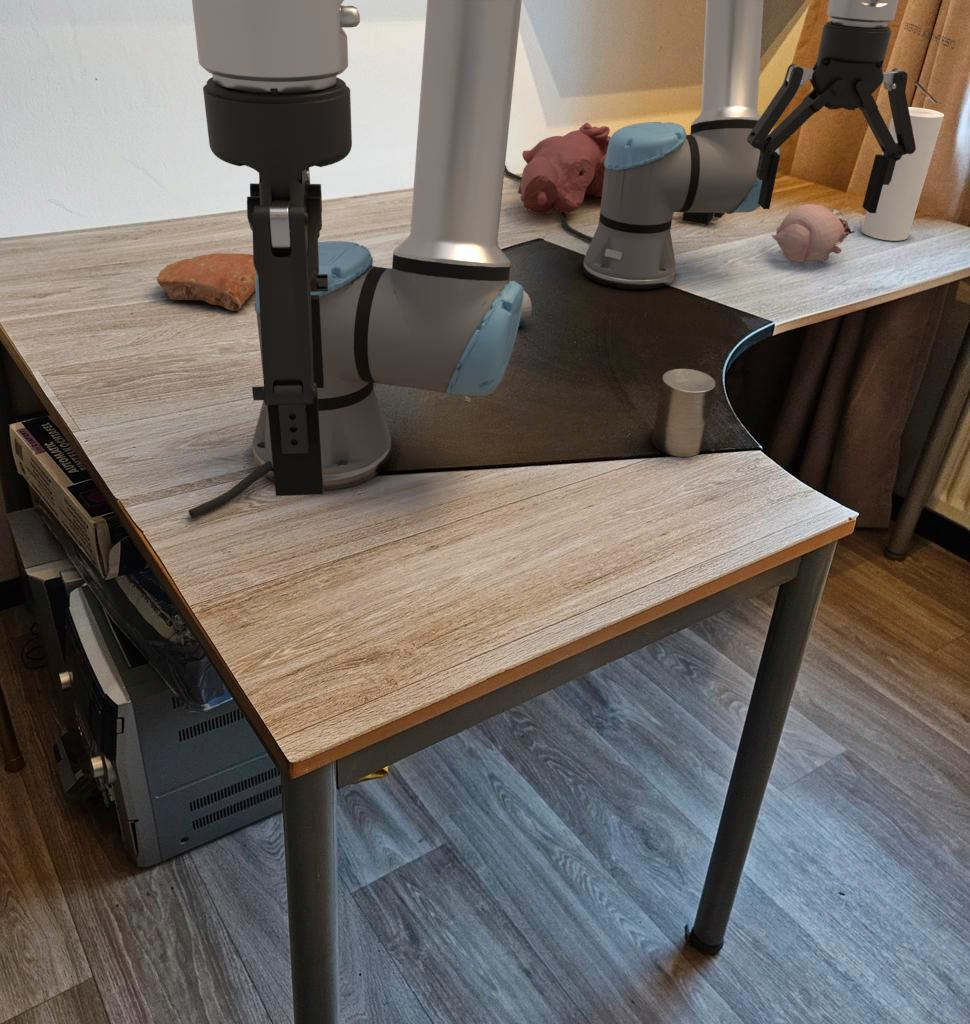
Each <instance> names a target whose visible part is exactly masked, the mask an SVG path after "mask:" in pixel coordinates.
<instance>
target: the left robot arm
mask: <svg viewBox="0 0 970 1024" xmlns="http://www.w3.org/2000/svg"><path fill="white" fill-rule="evenodd" d="M426 1H427V2H426V12H425V24H424V40H423V53H422V66H421V67H422V68H421V78H420V79H421V80H420V95H419V107H418V119H417V120H418V122H417V135H416V149H415V150H416V151H415V162H414V163H415V164H414V175H413V176H414V177H413V189H412V204H411V215H410V216H411V217H410V230H409V231H410V233H409V234H408V236H407V238H405V240H403V241H402V242H400V244H399V245H398V246H396V248H395V249H393V253H392V264H391V267H382V266H381V267H380V266H374V265H373V264H374V263H373V262H374V258H373V256H372V254H371V252H370V250H369V249H368V248H367V247H366V246H365V245H360V244H359V243H357V242H353V241H352V242H351V241H346V240H345V241H343V240H328V241H319V238H320V236H321V230H322V228H323V216H322V213H323V197H322V195H323V194H322V184H321V183H311V174H310V173H311V172H310V168H312V167H317V168H324V167H328V166H331V165H334V164H337V163H338V162H341V161H343V160H344V159H345V158H347V157H348V156H349V154H350V153H351V150H352V145H353V136H352V135H353V133H352V131H353V130H352V105H351V104H352V102H351V101H352V100H351V88H350V87H349V86H348V85H347V82H346V81H344V80H343V79H341V78H340V77H338V76H340V75H341V74H343V73H344V72H345V71H346V69H348V68H349V48H348V44H349V43H348V35H347V34H346V31H345V30H344V29H343V28H357V27H358V25H359V24H360V23H361V15H360V13H359V10H358V7H357V6H354V5H342V4H343V2H345V0H191V3H192V13H193V22H194V23H193V24H194V31H195V40H196V50H197V58H198V64H199V66H200V67H202V68H203V69H204V70H205V71H206V72H208V73H209V74H211V75H212V77H210V78H209V79H208V80H207V81H206V84H204V86H203V87H202V93H203V100H204V111H205V118H206V125H207V126H206V127H207V136H208V145H209V149H210V150H211V153H212V154H213V155H214V156H215V157H216V158H218V159H219V160H220V161H223V162H225V163H228V165H229V164H230V165H233V166H236V167H242V166H243V167H244V166H245V167H247V168H250V169H253V170H254V171H256V172H257V173H258V179H259V181H258V183H249V196H246V212H247V213H246V217H247V221H248V225H249V229H250V230H251V231H252V255H253V263H254V267H255V270H256V277H255V289H256V290H255V303H254V306H253V307H254V311H255V312H256V321H257V331H258V340H259V342H258V343H259V349H260V359H261V369H262V379H263V386H251V391H252V398H253V401H262V404H261V408H260V412H259V415H258V419H257V423H256V427H255V430H254V434H253V438H252V442H251V443H252V455H253V460H254V464H255V467H256V469H255V470H254V471H252V472H251V473H249V474H248V475H246V476H245V477H244V478H242V480H240V481H239V482H237V484H235V485H234V486H233V487H231V488H230V489H229V490H227V491H225V492H224V493H222V494H221V495H219V496H217V497H215V498H212V499H211V500H209V501H206V502H203V503H202V504H199V505H197V506H194V507H193V508H191V509H188V514H189V516H190V518H191V519H193V520H194V519H196V518H199V517H200V516H203V515H204V514H207V513H208V512H211V511H213V510H216V509H217V508H219V507H221V506H224V505H226V504H227V503H229V502H230V501H233V500H234V499H235V498H237V497H238V496H239V495H241V494H242V493H243V492H245V491H246V490H247V489H248V488H250V487H251V486H252V485H253V484H254V483H256V482H257V481H258V480H260V479H261V478H262V477H264V476H265V477H266V478H268V479H269V480H271V481H273V482H274V492H275V493H274V494H275V497H289V496H290V497H292V496H318V495H324V490H327V491H328V490H337V489H342V488H348V487H351V486H355V485H358V484H361V483H363V482H366V481H368V480H370V479H373V478H374V477H375V476H377V475H378V474H380V473H381V472H382V471H383V470H384V469H385V468H386V467H387V466H388V464H389V463H390V461H391V458H392V434H391V431H390V430H389V427H388V424H387V422H386V419H385V417H384V413H383V411H382V408H381V406H380V403H379V400H378V398H377V395H376V393H375V385H374V384H377V385H378V384H379V385H385V386H386V385H387V386H394V387H402V388H409V389H410V388H411V389H417V390H424V391H430V392H438V393H444V394H446V396H449V397H452V396H454V395H458V396H459V395H460V396H471V397H484V396H485V397H486V396H488V395H490V394H491V393H493V392H494V391H495V390H496V389H497V387H498V386H499V385H500V384H501V382H502V380H503V377H504V376H505V373H506V371H507V368H508V365H509V362H510V359H511V357H512V352H513V350H514V347H515V343H516V339H517V335H518V331H519V327H520V326H519V322H520V317H521V312H522V301H523V296H524V292H523V290H524V287H523V286H522V285H521V284H519V283H518V282H517V281H516V280H510V274H511V265H512V264H511V263H512V262H511V261H510V259H509V258H508V257H507V255H506V254H505V252H504V251H503V250H502V249H501V247H500V246H499V241H498V238H499V230H500V221H501V220H500V218H501V211H502V210H501V208H502V200H503V189H504V180H505V172H504V170H505V164H506V161H507V160H506V159H507V151H508V150H507V149H508V139H509V131H510V129H509V128H510V121H511V111H512V110H511V109H512V102H513V101H512V100H513V90H514V89H513V88H514V81H515V72H516V60H517V50H518V42H519V41H518V40H519V31H520V21H521V12H522V2H523V1H522V0H426Z"/></svg>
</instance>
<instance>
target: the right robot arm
mask: <svg viewBox="0 0 970 1024" xmlns="http://www.w3.org/2000/svg"><path fill="white" fill-rule="evenodd" d="M764 1H765V0H705V19H704V20H705V21H704V44H703V65H702V85H701V86H702V87H701V108H700V114H699V115H698V116H697V117H696V118H695V119H694V120H693V121H692V122H691V123H690V134H687V132H686V129H685V127H684V126H683V125H682V124H678V123H675V122H662V121H647V122H646V121H645V122H639V123H634V124H629V125H625V126H623V127H620V128H619V129H617V130H615V131H614V132H613V133H612V135H611V136H610V137H611V138H610V140H609V144H608V149H607V154H606V159H605V162H604V165H605V172H604V181H603V191H602V196H601V201H600V202H601V203H600V208H599V209H600V211H599V219H598V225H597V226H596V227H597V228H596V230H595V232H594V234H593V237H592V236H590V235H587V234H585V233H583V232H581V231H579V230H577V229H575V228H573V227H572V226H571V225H569V224H568V217H567V213H564V212H560V214H561V217H562V226H563V227H564V228H565V230H567V231H568V232H569V233H570V234H572V235H575V236H576V237H578V238H581V239H583V240H585V241H587V242H590V243H589V245H588V248H587V250H586V252H585V255H584V258H583V264H582V272H583V274H584V275H585V276H586V277H587V278H589V279H590V280H592V281H594V282H596V283H599V284H602V285H604V286H608V287H612V288H616V289H623V290H636V291H637V290H640V291H641V290H642V291H643V290H645V291H646V290H654V289H660V288H663V287H666V286H668V285H670V284H671V283H673V282H674V280H675V277H676V271H677V266H676V265H677V264H676V258H675V253H674V246H673V240H672V233H671V232H672V231H671V229H672V221H673V216H674V213H684V212H703V213H724V214H726V215H731V214H735V213H737V214H739V213H750V212H754V211H756V210H758V209H759V208H760V207H761V209H762V210H770V207H771V202H772V198H773V194H774V193H773V192H774V188H775V183H776V179H777V175H778V169H779V163H780V159H781V155H780V147H781V146H782V145H783V144H784V143H785V142H786V141H788V139H789V138H791V136H792V135H793V134H794V133H796V131H797V130H799V129H800V128H801V127H802V126H803V125H804V124H805V123H806V122H807V121H808V120H809V119H810V118H811V117H812V116H814V114H816V113H818V112H819V111H820V110H821V109H823V108H824V107H825V108H826V109H828V110H839V109H844V110H846V111H855V110H856V109H859V110H860V112H861V113H862V115H863V117H864V119H865V121H866V123H867V125H868V126H869V128H870V130H871V132H872V134H873V136H874V138H875V140H876V142H877V144H878V145H879V147H880V149H881V152H882V151H883V153H884V154H883V155H882V154H875V155H874V159H873V163H872V167H871V170H870V174H869V180H868V183H867V187H866V189H865V190H866V191H865V194H864V199H863V203H862V206H861V207H862V208H863V209H864V210H865V211H868V212H869V213H876V210H877V206H878V202H879V198H880V194H881V191H882V187H883V185H889V183H890V181H891V179H892V175H893V171H894V167H895V164H896V161H898V160H900V159H901V157H902V155H905V154H912V153H914V152H915V150H916V146H915V140H914V135H913V130H912V125H911V119H910V114H909V109H908V107H909V104H908V98H907V93H906V90H907V83H908V78H909V77H908V76H909V75H908V73H907V72H906V71H905V70H902V69H899V68H893V69H892V70H890V71H889V70H888V71H883V64H884V61H885V59H886V55H887V51H888V48H889V44H890V39H891V35H892V29H891V27H890V26H888V23H890V22H893V21H894V20H895V18H896V15H897V9H898V5H899V1H900V0H828V3H827V8H826V13H825V15H826V16H827V17H828V18H830V20H829V21H827V22H825V24H823V27H822V33H821V37H820V43H819V47H818V51H817V58H816V62H815V64H814V65H813V67H812V68H808V67H801V66H799V65H797V64H796V63H791V64H789V65H788V67H787V69H786V73H785V75H784V79H783V82H782V84H781V86H780V87H779V89H778V90H777V92H776V94H775V95H774V97H772V99H771V101H770V102H769V104H768V105H767V107H766V109H765V110H764V111H763V113H762V114H761V113H760V112H759V111H758V105H759V104H758V103H759V88H760V87H759V85H760V71H761V69H760V68H761V52H762V51H761V50H762V36H763V21H764V19H763V18H764ZM808 80H809V81H810V84H811V86H812V88H813V89H812V90H810V92H808V94H807V95H806V96H805V97H804V98H803V99H802V102H801V103H800V104H799V105H798V106H796V108H795V109H793V110H792V111H791V112H790V113H789V114H788V116H786V117H785V118H784V119H783V120H782V121H781V122H780V123H779V124H778V125H777V126H776V124H777V122H778V121H779V120H780V118H781V117H782V115H783V114H784V112H785V111H786V110H787V108H788V106H789V105H790V103H791V102H792V100H793V99H794V97H795V96H796V94H797V93H798V90H799V88H802V87H803V86H804V85H806V83H807V81H808ZM882 83H883V88H884V89H885V90H887V96H888V102H889V106H890V111H891V118H892V117H893V122H894V127H895V132H896V137H897V142H898V143H895V141H894V139H893V137H892V135H891V133H890V131H889V130H888V129H889V127H888V126H887V124H886V122H885V120H884V118H883V116H882V114H881V112H880V110H879V106H878V104H877V101H876V100H875V98H874V96H873V94H874V93H875V91H876V90H877V89H878V88H879V87H880V86H881V85H882ZM775 126H776V127H775ZM774 127H775V128H774ZM504 174H505V175H507V176H508V177H510V178H512V179H515V180H517V181H520V182H521V180H522V176H520V175H517V174H515V173H513V172H511V171H509V170H508V168H507V165H505V170H504Z"/></svg>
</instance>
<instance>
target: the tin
mask: <svg viewBox="0 0 970 1024" xmlns="http://www.w3.org/2000/svg"><path fill="white" fill-rule="evenodd" d="M716 384H717V383H716V380H715V379H714V378H713V377H712V376H711V375H710V374H708V373H705V372H703V371H701V370H700V371H699V370H695V369H690V368H674V369H670V370H667V371H666V372H665V373H663V375H662V378H661V384H660V391H659V396H658V401H657V407H656V415H655V421H654V427H653V433H652V439H651V441H652V446H653V447H654V448H655V449H656V450H658V451H659V452H661V453H663V454H665V455H668V456H672V457H678V458H690V457H694V456H696V455H699V454H700V453H701V452H702V451H703V449H704V445H705V440H706V436H707V430H708V426H709V419H710V415H711V409H712V404H713V401H714V395H715V390H716Z"/></svg>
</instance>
